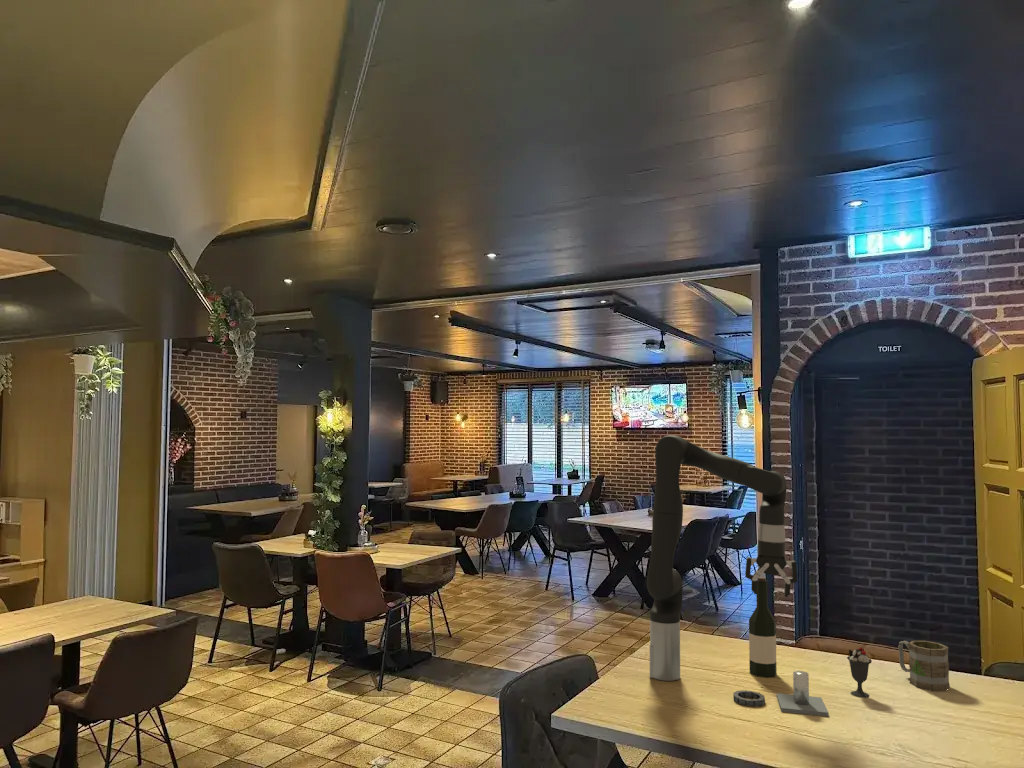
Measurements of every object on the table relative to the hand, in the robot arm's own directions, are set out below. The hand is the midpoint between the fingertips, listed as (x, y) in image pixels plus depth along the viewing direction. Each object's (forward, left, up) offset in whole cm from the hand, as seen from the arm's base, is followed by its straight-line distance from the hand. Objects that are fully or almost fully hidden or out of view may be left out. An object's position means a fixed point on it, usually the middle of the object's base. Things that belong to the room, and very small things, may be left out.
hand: (770, 595), depth 211 cm
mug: (+46, +26, -29) cm, 60 cm away
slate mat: (+7, -6, -29) cm, 30 cm away
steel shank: (+7, -6, -28) cm, 29 cm away
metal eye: (-7, -6, -29) cm, 30 cm away
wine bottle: (-1, +21, -29) cm, 35 cm away
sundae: (+25, +9, -29) cm, 39 cm away
